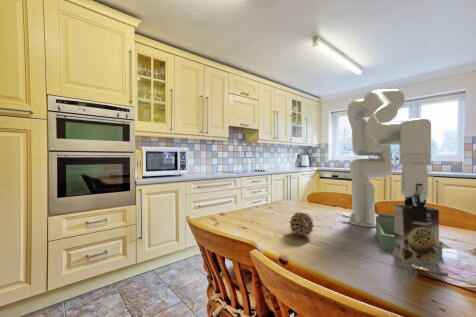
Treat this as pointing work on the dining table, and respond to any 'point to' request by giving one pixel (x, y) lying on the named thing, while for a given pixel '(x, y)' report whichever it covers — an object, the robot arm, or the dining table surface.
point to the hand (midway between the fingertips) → (414, 216)
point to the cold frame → (389, 232)
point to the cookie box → (416, 236)
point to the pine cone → (301, 224)
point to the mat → (420, 265)
